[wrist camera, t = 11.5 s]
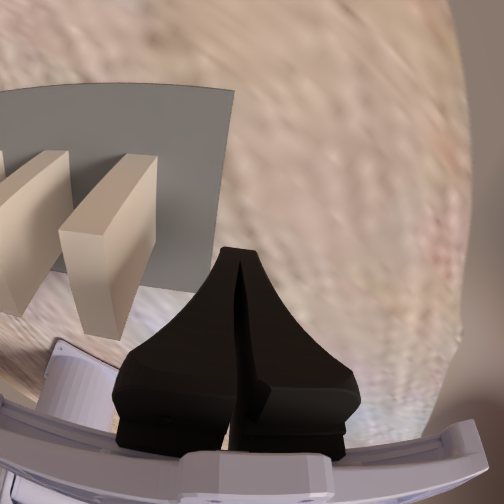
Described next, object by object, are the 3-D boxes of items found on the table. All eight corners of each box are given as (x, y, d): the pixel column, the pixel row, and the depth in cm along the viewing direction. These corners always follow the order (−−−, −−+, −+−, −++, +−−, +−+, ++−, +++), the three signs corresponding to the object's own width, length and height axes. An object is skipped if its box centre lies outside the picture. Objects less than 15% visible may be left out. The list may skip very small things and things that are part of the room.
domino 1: (68, 150, 14) (-14, 220, 8) (76, 231, 17) (20, 317, 11) (44, 150, 14) (-39, 217, 8) (55, 228, 17) (-4, 310, 11)
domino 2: (157, 156, 14) (102, 235, 9) (155, 241, 17) (120, 340, 12) (126, 153, 14) (58, 229, 9) (128, 238, 17) (84, 333, 11)
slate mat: (234, 90, 13) (234, 91, 13) (208, 290, 20) (207, 294, 20) (-103, 118, 10) (-106, 119, 10) (-76, 239, 17) (-78, 242, 17)
